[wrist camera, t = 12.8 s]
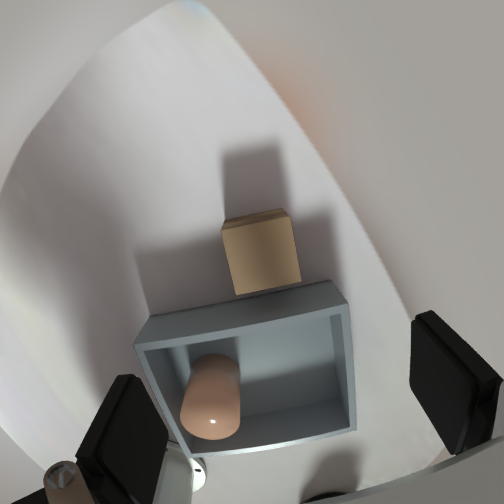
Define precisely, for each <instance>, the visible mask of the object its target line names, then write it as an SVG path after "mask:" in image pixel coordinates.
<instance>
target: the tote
mask: <svg viewBox="0 0 504 504" xmlns="http://www.w3.org/2000/svg"><path fill="white" fill-rule="evenodd" d="M133 346H134V349H135V351H136V354H137V356H138V358H139V361H140V363H141V366H142V368H143V370H144V373H145V375H146V377H147V379H148V382H149V384H150V386H151V388H152V390H153V392H154V395H155V397H156V399H157V401H158V403H159V405H160V407H161V409H162V411H163V413H164V415H165V417H166V419H167V421H168V423H169V425H170V427H171V429H172V431H173V433H174V435H175V437H176V439H177V441H178V443H179V444H180V446H181V448H182V450H183V452H184V454H185V455H186V457H187V458H199V457H212V456H222V455H232V454H240V453H248V452H255V451H262V450H268V449H274V448H280V447H285V446H290V445H295V444H300V443H305V442H310V441H314V440H319V439H323V438H327V437H331V436H335V435H339V434H343V433H347V432H350V431H354V430H357V416H356V392H355V374H354V359H353V346H352V335H351V324H350V314H349V304H348V302H347V301H346V299H345V298H344V297H343V295H342V294H341V293H340V291H339V290H338V289H337V287H336V286H335V285H334V283H333V282H332V281H331V280H327V281H323V282H318V283H314V284H309V285H305V286H300V287H296V288H291V289H287V290H282V291H277V292H273V293H268V294H263V295H259V296H254V297H249V298H244V299H239V300H234V301H229V302H224V303H219V304H214V305H208V306H203V307H198V308H193V309H187V310H182V311H176V312H171V313H165V314H159V315H154V316H150V317H149V319H148V320H147V322H146V324H145V325H144V327H143V328H142V330H141V332H140V333H139V335H138V337H137V338H136V340H135V342H134V343H133ZM212 353H214V354H222V355H225V356H227V357H229V358H231V359H232V360H234V361H235V362H236V364H237V365H238V367H239V369H240V373H241V384H240V425H239V428H238V429H237V431H236V432H235V433H234V434H232V435H231V436H229V437H226V438H223V439H218V440H209V439H203V438H200V437H197V436H195V435H193V434H191V433H190V432H188V431H187V430H186V429H185V428H184V426H183V425H182V423H181V420H180V412H181V408H182V404H183V400H184V396H185V392H186V388H187V384H188V380H189V376H190V372H191V368H192V365H193V363H194V362H195V361H196V360H197V359H198V358H199V357H201V356H203V355H206V354H212Z"/></svg>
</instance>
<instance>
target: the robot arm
mask: <svg viewBox="0 0 504 504" xmlns="http://www.w3.org/2000/svg"><path fill="white" fill-rule="evenodd" d="M409 383H410V387H411V390H412V392H413V393H414V395H415V396H416V398H417V400H418V401H419V403H420V404H421V406H422V408H423V409H424V411H425V413H426V414H427V416H428V418H429V419H430V421H431V423H432V424H433V426H434V428H435V429H436V431H437V433H438V434H439V436H440V438H441V439H442V441H443V443H444V445H445V446H446V448H447V450H448V451H449V453H450V454H451V455H454V454H455V455H456V456H454V457H452V458H450V459H447V460H445V461H443V462H440V463H438V464H436V465H433V466H431V467H428V468H425V469H423V470H420V471H418V472H415V473H412V474H410V475H407V476H404V477H401V478H399V479H396V480H393V481H390V482H387V483H384V484H380V485H377V486H374V487H370V488H367V489H364V490H360V491H356V492H353V493H349V494H345V495H341V496H336V497H332V498H328V499H323V500H318V501H313V502H308V503H303V504H504V380H503V379H502V378H501V377H500V376H499V374H498V373H497V372H496V371H495V370H494V369H493V368H492V367H491V366H490V365H489V364H488V363H487V362H486V361H485V360H484V359H483V358H482V357H481V356H480V355H479V354H478V353H477V352H476V351H475V350H474V349H473V348H472V347H471V346H470V345H469V344H468V343H467V342H466V341H464V340H463V339H462V338H461V337H460V336H459V335H458V334H457V333H456V332H455V331H454V330H453V329H452V328H451V327H450V326H449V325H447V323H445V322H444V321H443V320H442V319H441V318H440V317H439V316H438V315H437V314H436V313H435V312H434V311H432V310H430V311H427V312H424V313H421V314H418V315H416V317H415V320H413V321H412V322H411V357H410V378H409ZM168 438H169V434H168V430H167V428H166V426H165V424H164V423H163V421H162V419H161V417H160V415H159V413H158V412H157V410H156V408H155V406H154V404H153V402H152V400H151V398H150V396H149V395H148V393H147V391H146V389H145V387H144V385H143V383H142V381H141V379H140V378H138V377H136V376H135V375H134V374H126V375H118V376H117V377H116V379H115V381H114V382H113V384H112V386H111V388H110V390H109V392H108V393H107V395H106V397H105V399H104V401H103V403H102V405H101V406H100V408H99V410H98V412H97V414H96V416H95V418H94V420H93V422H92V424H91V426H90V427H89V429H88V431H87V433H86V435H85V437H84V439H83V441H82V443H81V445H80V447H79V449H78V451H77V453H76V455H75V457H76V458H77V461H76V464H75V463H74V462H71V461H61V462H58V463H56V464H54V465H52V466H51V467H50V468H49V469H48V470H47V471H46V473H45V475H44V479H43V483H44V488H42V489H40V490H38V491H36V492H34V493H32V494H30V495H28V496H26V497H24V498H22V499H20V500H18V501H15V502H13V503H12V504H191V500H192V492H194V491H197V490H198V489H200V488H201V487H202V486H203V485H204V484H205V481H206V476H207V471H206V467H205V465H204V463H203V462H202V461H201V459H200V458H187V457H186V455H185V454H184V452H183V450H182V448H181V446H180V445H178V444H176V443H173V442H170V441H168Z"/></svg>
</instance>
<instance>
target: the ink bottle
mask: <svg viewBox="0 0 504 504" xmlns="http://www.w3.org/2000/svg"><path fill="white" fill-rule="evenodd" d="M341 495H345V493H327V494H323V495H320V496H317V497H314V498H312V499H310V500H308V501H307V502H305V503H308V502H313V501H318V500H323V499H328V498H332V497H336V496H341Z"/></svg>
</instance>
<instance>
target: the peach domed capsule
mask: <svg viewBox="0 0 504 504" xmlns="http://www.w3.org/2000/svg"><path fill="white" fill-rule="evenodd" d="M240 384H241V373H240V369H239V367H238V365H237V364H236V362H235V361H234V360H232V359H231V358H229V357H227V356H225V355H222V354H214V353H212V354H206V355H203V356H201V357H199V358H198V359H197V360H196V361H195V362H194V363H193V365H192V368H191V372H190V376H189V380H188V384H187V388H186V392H185V396H184V400H183V404H182V408H181V412H180V420H181V423H182V425H183V426H184V428H185V429H186V430H187V431H188V432H190V433H191V434H193V435H195V436H197V437H200V438H203V439H209V440H218V439H223V438H226V437H229V436H231V435H232V434H234V433H235V432H236V431H237V429H238V428H239V425H240Z"/></svg>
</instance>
